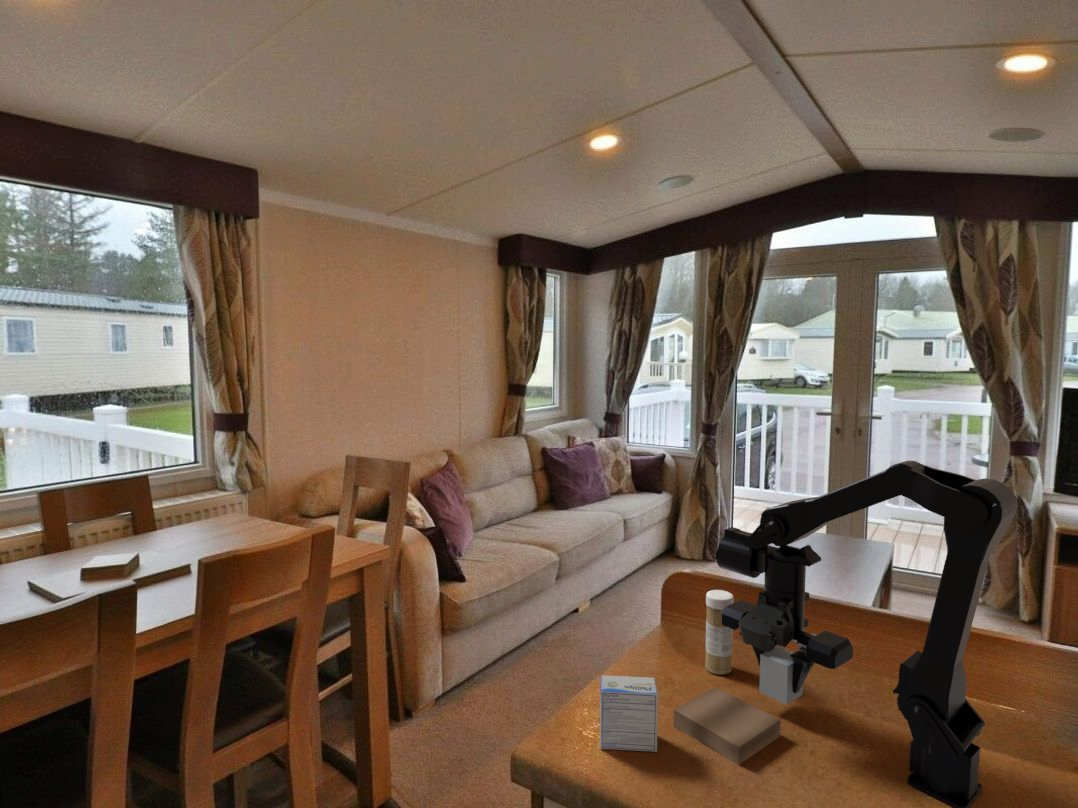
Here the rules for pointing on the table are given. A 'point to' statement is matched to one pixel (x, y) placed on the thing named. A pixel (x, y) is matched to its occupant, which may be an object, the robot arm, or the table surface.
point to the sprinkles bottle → (718, 633)
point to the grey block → (778, 675)
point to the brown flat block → (727, 725)
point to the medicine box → (628, 713)
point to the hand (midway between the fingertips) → (781, 685)
